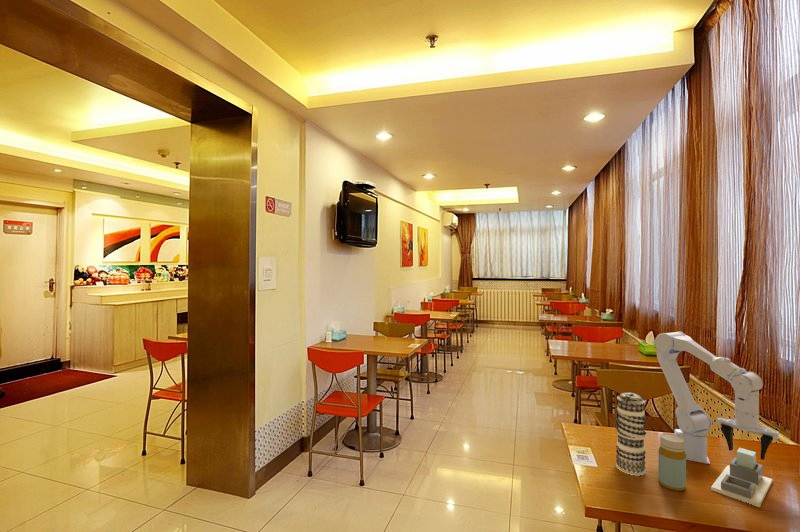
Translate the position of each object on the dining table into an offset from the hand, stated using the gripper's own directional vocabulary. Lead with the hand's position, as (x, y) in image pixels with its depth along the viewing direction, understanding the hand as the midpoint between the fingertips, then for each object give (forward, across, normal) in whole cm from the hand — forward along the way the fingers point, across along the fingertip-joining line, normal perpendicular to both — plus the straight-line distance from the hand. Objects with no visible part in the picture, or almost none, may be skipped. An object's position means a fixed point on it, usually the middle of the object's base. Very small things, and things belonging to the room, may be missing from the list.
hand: (746, 453), depth 125 cm
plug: (+5, 0, 0) cm, 5 cm away
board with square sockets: (+8, 0, -5) cm, 10 cm away
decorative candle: (+8, -26, -21) cm, 35 cm away
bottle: (+9, -14, -22) cm, 27 cm away
